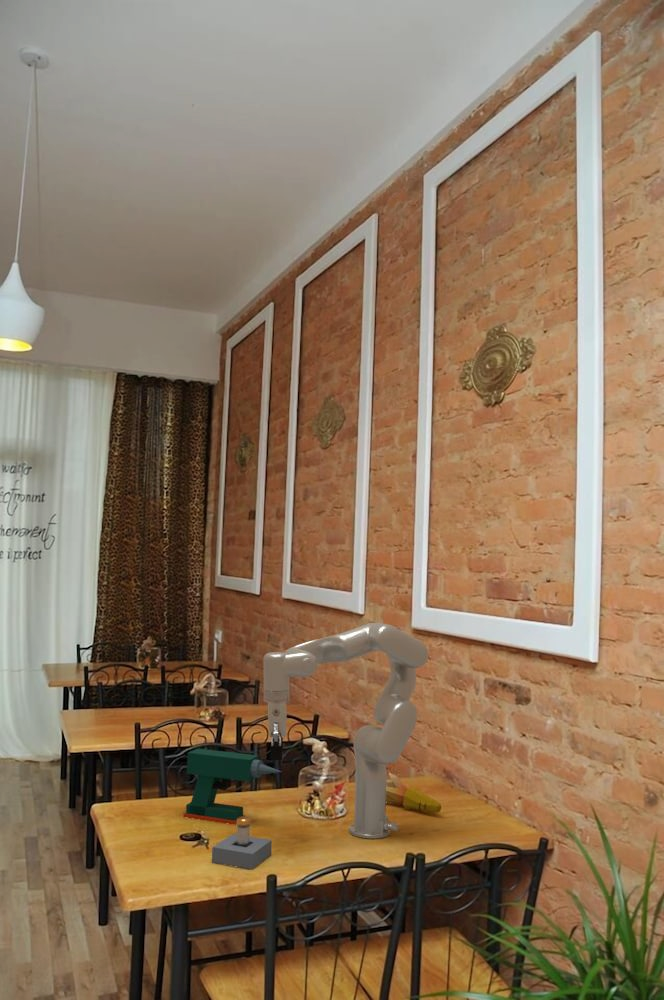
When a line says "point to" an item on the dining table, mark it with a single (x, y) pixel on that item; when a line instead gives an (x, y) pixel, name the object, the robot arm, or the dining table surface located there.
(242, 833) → the copper capped vial
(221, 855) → the block
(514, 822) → the dining table surface
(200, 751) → the power tool
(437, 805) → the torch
